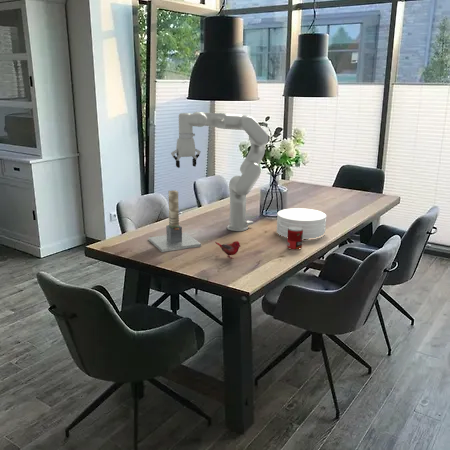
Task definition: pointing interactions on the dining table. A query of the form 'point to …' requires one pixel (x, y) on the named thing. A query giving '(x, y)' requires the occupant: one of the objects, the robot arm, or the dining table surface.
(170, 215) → the ash post
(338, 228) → the dining table surface
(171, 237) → the metal stand
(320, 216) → the plate stack
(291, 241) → the canned food
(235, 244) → the decorative bird figurine
